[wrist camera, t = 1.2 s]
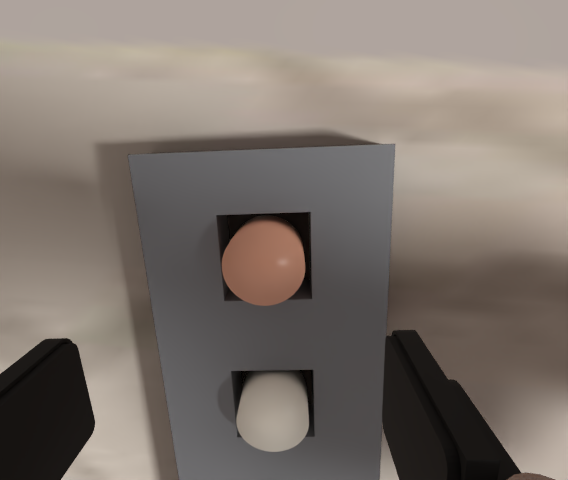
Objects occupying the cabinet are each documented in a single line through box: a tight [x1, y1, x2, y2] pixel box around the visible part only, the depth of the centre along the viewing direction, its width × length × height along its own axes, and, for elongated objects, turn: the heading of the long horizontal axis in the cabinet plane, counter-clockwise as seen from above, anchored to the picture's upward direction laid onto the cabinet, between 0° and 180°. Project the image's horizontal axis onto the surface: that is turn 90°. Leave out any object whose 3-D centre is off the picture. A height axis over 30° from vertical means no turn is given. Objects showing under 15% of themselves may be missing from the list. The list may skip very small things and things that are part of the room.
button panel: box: [128, 144, 395, 480], centre depth 23 cm, size 14×32×3 cm, turn 2°
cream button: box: [236, 370, 309, 452], centre depth 22 cm, size 4×4×3 cm
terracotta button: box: [222, 215, 305, 306], centre depth 19 cm, size 4×4×3 cm
